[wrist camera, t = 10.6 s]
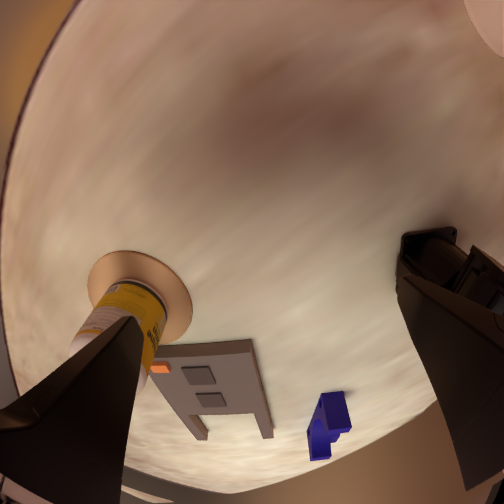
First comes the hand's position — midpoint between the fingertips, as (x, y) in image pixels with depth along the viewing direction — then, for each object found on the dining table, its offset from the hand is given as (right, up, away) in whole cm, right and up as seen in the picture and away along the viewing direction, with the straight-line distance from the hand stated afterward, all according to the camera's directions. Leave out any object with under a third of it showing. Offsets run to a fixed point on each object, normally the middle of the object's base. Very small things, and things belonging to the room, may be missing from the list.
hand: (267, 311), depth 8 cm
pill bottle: (-11, -3, +16) cm, 20 cm away
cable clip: (+11, -22, +26) cm, 35 cm away
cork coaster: (-11, -3, +16) cm, 20 cm away
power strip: (-5, -17, +23) cm, 29 cm away
